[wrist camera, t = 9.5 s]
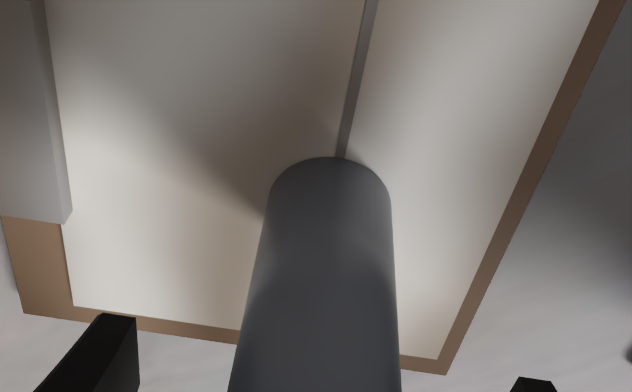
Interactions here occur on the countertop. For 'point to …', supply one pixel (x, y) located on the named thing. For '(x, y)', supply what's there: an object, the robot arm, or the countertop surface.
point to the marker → (322, 286)
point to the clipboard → (274, 144)
